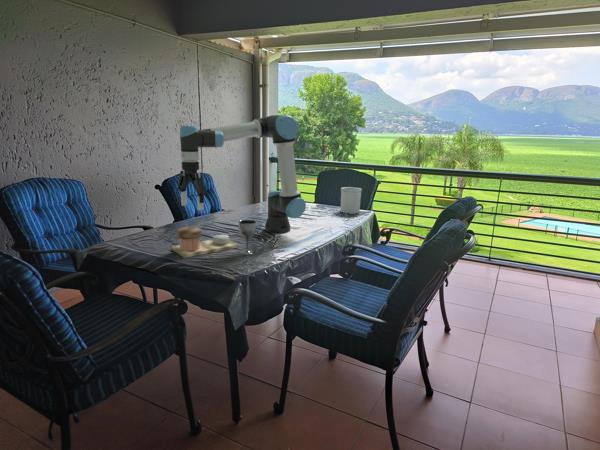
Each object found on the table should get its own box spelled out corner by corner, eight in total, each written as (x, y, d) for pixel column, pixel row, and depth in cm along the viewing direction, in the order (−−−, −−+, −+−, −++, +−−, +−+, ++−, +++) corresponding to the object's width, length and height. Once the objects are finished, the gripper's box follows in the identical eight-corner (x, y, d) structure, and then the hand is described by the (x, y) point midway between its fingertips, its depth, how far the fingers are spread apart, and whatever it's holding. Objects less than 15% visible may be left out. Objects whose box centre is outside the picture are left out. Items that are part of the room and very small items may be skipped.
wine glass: (239, 249, 184) (239, 219, 180) (256, 249, 184) (256, 219, 181) (238, 255, 176) (238, 223, 172) (255, 255, 177) (255, 223, 173)
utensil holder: (340, 209, 287) (341, 186, 282) (359, 210, 285) (361, 187, 280) (339, 213, 272) (340, 189, 268) (360, 214, 270) (361, 190, 266)
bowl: (203, 246, 182) (202, 234, 180) (193, 252, 173) (193, 239, 172) (185, 244, 184) (185, 232, 182) (176, 250, 175) (175, 237, 174)
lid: (205, 234, 181) (205, 228, 180) (194, 240, 171) (194, 233, 170) (184, 232, 183) (184, 226, 183) (172, 238, 173) (171, 231, 172)
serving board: (224, 240, 198) (224, 237, 198) (239, 247, 187) (239, 244, 187) (171, 249, 181) (171, 246, 180) (184, 257, 170) (184, 254, 169)
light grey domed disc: (231, 241, 192) (231, 235, 191) (225, 245, 184) (225, 239, 183) (217, 239, 193) (216, 234, 193) (210, 244, 186) (209, 238, 185)
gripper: (168, 159, 176) (171, 204, 181) (198, 163, 160) (200, 213, 165) (182, 158, 181) (185, 202, 186) (213, 162, 165) (215, 210, 170)
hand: (192, 207), depth 176 cm, fingers open, 13 cm apart
